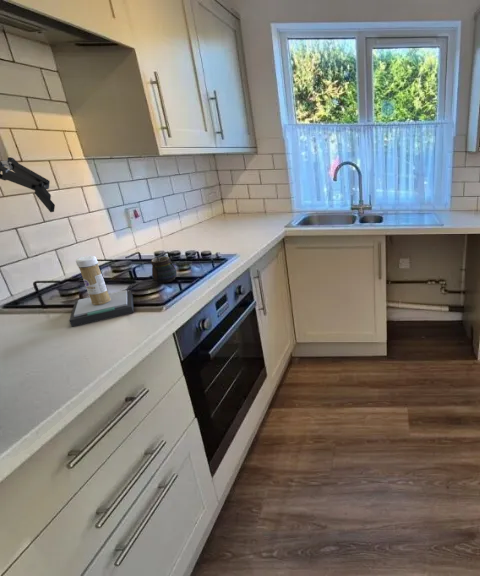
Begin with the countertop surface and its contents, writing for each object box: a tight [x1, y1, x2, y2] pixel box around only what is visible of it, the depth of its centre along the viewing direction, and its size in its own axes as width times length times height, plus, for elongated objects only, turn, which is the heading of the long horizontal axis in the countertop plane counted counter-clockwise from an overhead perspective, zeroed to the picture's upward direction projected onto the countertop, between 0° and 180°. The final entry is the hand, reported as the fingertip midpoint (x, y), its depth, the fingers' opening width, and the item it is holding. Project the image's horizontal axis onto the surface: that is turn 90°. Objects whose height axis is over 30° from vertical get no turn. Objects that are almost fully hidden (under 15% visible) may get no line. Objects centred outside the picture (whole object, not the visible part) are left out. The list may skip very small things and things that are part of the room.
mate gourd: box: [150, 256, 177, 284], centre depth 123 cm, size 7×8×10 cm
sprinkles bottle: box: [75, 255, 111, 305], centre depth 101 cm, size 5×5×13 cm
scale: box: [68, 289, 134, 328], centre depth 105 cm, size 14×14×3 cm
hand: (19, 214), depth 87 cm, fingers open, 13 cm apart
